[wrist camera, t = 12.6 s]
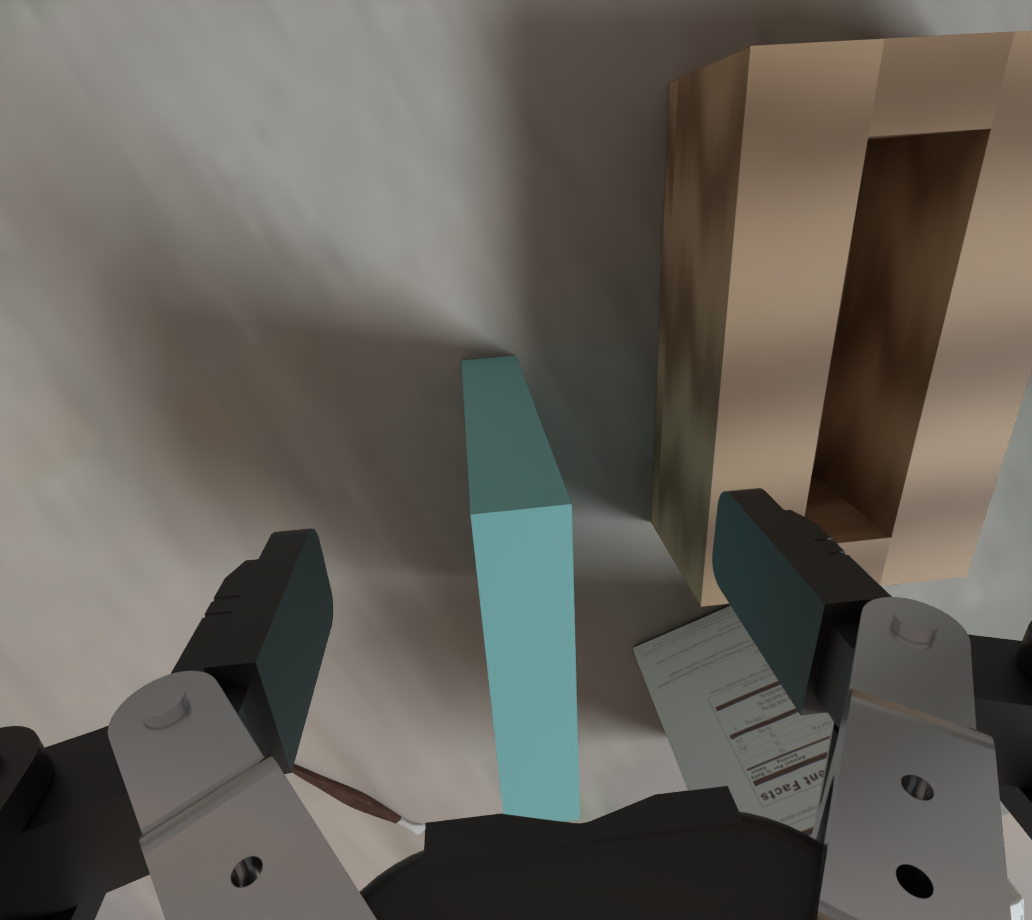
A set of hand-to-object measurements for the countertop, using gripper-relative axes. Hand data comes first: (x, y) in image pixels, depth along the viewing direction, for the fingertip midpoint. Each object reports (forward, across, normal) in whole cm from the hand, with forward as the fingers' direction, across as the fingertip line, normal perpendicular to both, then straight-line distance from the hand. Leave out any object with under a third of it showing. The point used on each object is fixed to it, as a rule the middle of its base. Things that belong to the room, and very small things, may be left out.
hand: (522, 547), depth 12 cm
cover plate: (+17, 0, +7) cm, 18 cm away
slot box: (+17, -14, 0) cm, 22 cm away
